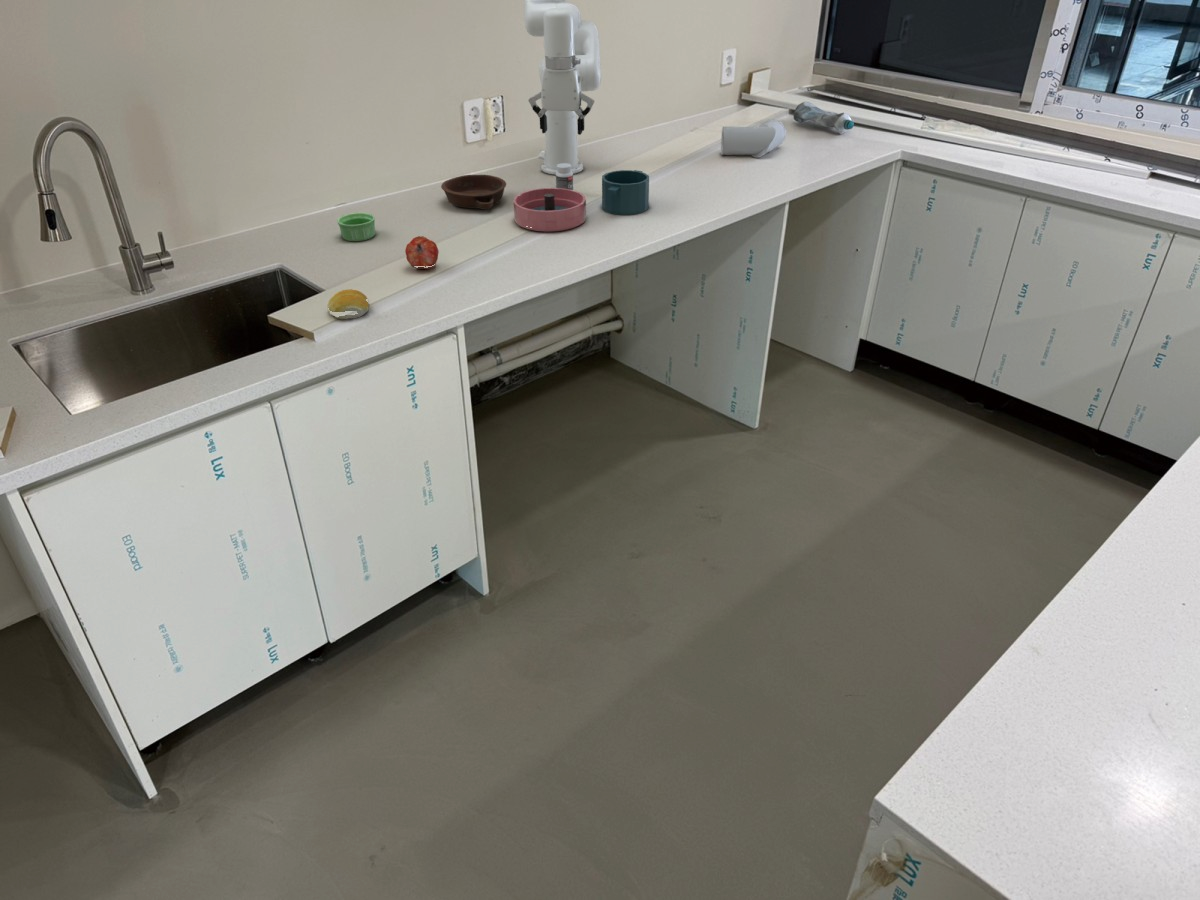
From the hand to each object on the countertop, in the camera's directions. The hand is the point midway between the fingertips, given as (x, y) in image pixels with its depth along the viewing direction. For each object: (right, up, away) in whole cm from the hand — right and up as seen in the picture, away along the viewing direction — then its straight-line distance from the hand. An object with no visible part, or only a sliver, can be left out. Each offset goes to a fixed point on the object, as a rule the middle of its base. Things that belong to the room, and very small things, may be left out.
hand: (562, 132), depth 224 cm
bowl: (-3, -25, -6) cm, 26 cm away
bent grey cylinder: (+57, +10, +44) cm, 73 cm away
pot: (+17, -19, +2) cm, 26 cm away
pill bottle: (0, -14, +11) cm, 17 cm away
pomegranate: (-31, -43, -30) cm, 60 cm away
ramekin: (-50, -31, -14) cm, 61 cm away
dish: (-24, -17, +7) cm, 30 cm away
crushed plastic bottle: (+87, +26, +67) cm, 113 cm away
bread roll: (-42, -56, -49) cm, 85 cm away
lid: (-3, -24, -6) cm, 25 cm away
